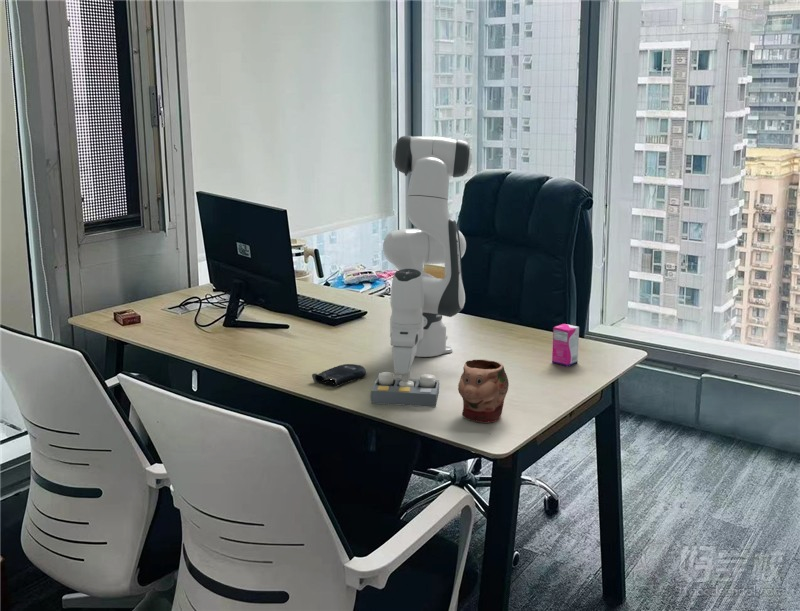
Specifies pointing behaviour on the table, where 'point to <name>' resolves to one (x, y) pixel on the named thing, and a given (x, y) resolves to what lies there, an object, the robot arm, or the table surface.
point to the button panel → (405, 394)
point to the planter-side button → (427, 381)
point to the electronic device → (340, 374)
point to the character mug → (483, 390)
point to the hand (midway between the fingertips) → (405, 380)
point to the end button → (386, 378)
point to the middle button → (406, 384)
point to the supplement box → (565, 344)
